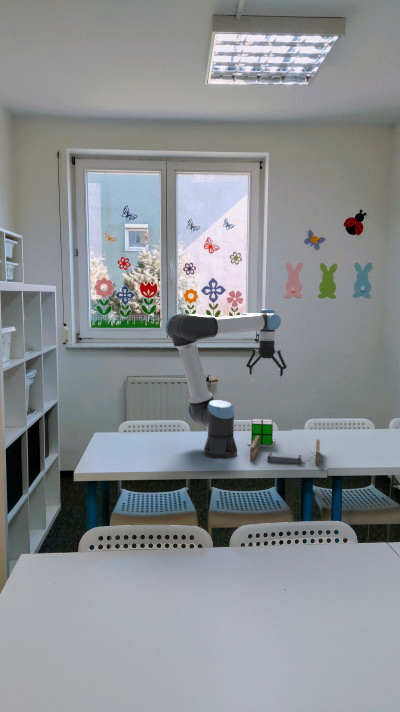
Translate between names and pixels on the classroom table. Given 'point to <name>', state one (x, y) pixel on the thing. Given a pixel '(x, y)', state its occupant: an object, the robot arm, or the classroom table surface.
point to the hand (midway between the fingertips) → (265, 381)
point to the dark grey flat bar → (284, 459)
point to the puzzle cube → (262, 431)
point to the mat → (263, 444)
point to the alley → (255, 448)
